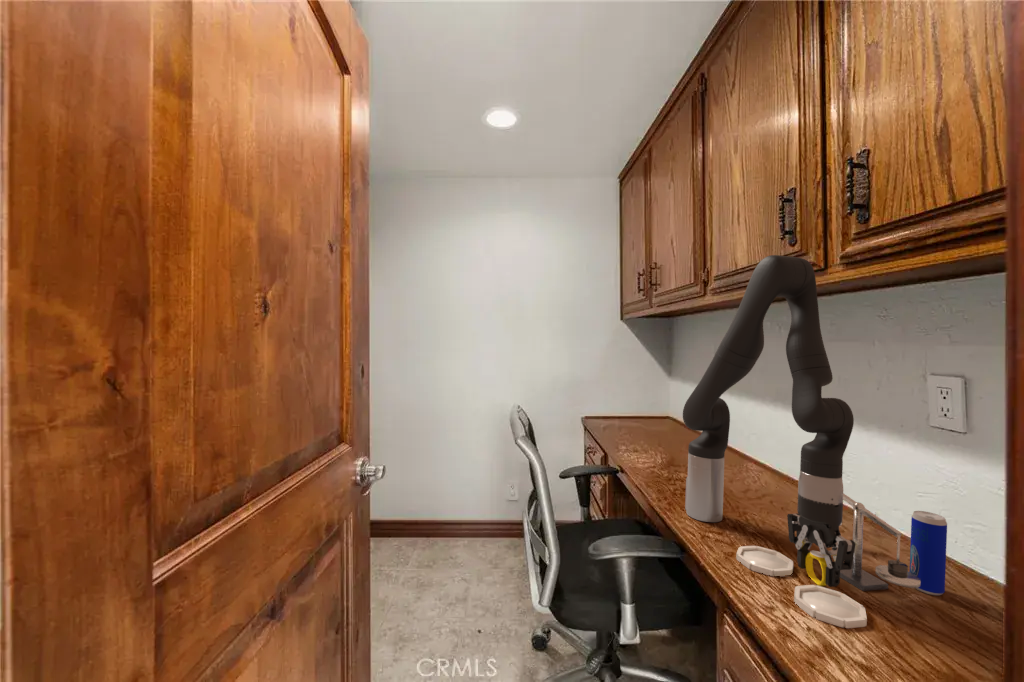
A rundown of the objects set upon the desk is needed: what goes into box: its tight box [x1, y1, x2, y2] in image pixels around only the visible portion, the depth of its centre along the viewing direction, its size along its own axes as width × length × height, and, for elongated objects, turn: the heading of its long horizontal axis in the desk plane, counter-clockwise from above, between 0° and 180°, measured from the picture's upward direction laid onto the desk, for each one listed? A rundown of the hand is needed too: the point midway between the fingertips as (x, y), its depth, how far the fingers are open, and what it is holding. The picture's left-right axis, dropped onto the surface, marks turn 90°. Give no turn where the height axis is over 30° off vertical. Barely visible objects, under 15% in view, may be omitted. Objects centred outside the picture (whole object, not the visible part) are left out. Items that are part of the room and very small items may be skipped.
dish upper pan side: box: [735, 545, 794, 577], centre depth 95 cm, size 11×11×1 cm
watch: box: [805, 549, 827, 587], centre depth 88 cm, size 6×3×6 cm, turn 176°
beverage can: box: [909, 510, 948, 597], centre depth 87 cm, size 5×5×15 cm
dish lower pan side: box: [793, 584, 868, 629], centre depth 79 cm, size 11×11×1 cm
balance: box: [839, 492, 921, 592], centre depth 90 cm, size 22×6×18 cm, turn 10°
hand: (817, 576), depth 88 cm, fingers closed on watch, 6 cm apart
